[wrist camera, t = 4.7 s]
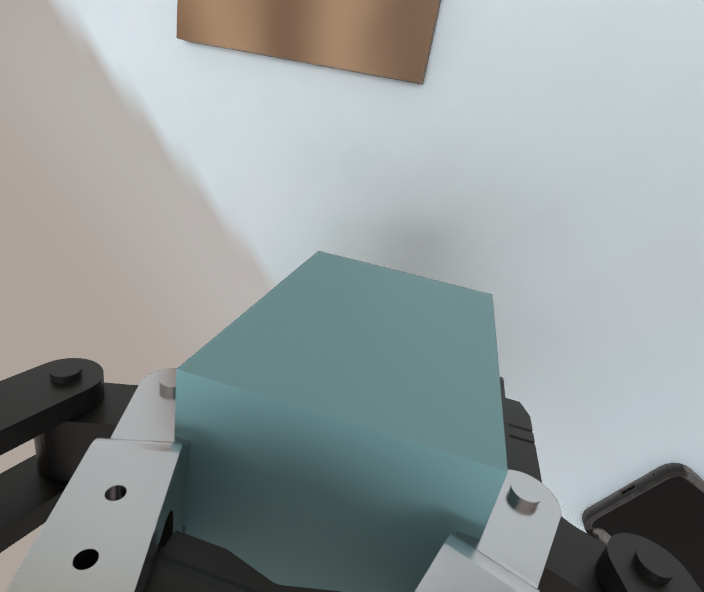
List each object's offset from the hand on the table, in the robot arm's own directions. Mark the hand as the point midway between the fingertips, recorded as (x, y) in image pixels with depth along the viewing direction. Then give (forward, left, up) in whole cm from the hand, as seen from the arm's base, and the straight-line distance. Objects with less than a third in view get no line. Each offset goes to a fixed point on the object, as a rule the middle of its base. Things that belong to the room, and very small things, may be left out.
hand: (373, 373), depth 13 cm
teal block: (0, 0, -1) cm, 1 cm away
